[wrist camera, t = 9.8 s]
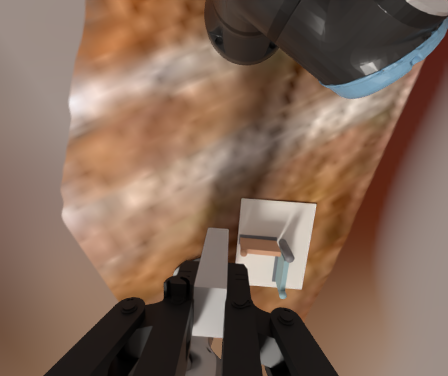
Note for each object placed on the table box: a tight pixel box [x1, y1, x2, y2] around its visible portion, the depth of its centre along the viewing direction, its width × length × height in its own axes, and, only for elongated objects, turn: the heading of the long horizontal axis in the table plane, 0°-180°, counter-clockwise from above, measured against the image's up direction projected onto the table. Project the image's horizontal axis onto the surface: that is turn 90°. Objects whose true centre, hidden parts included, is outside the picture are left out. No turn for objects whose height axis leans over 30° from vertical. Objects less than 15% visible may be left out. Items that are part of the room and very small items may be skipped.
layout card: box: [236, 198, 316, 289], centre depth 52 cm, size 21×16×1 cm
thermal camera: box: [173, 258, 221, 376], centre depth 38 cm, size 12×13×35 cm
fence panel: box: [240, 237, 281, 257], centre depth 48 cm, size 8×1×6 cm, turn 85°
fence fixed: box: [275, 239, 295, 299], centre depth 49 cm, size 11×2×7 cm, turn 176°
